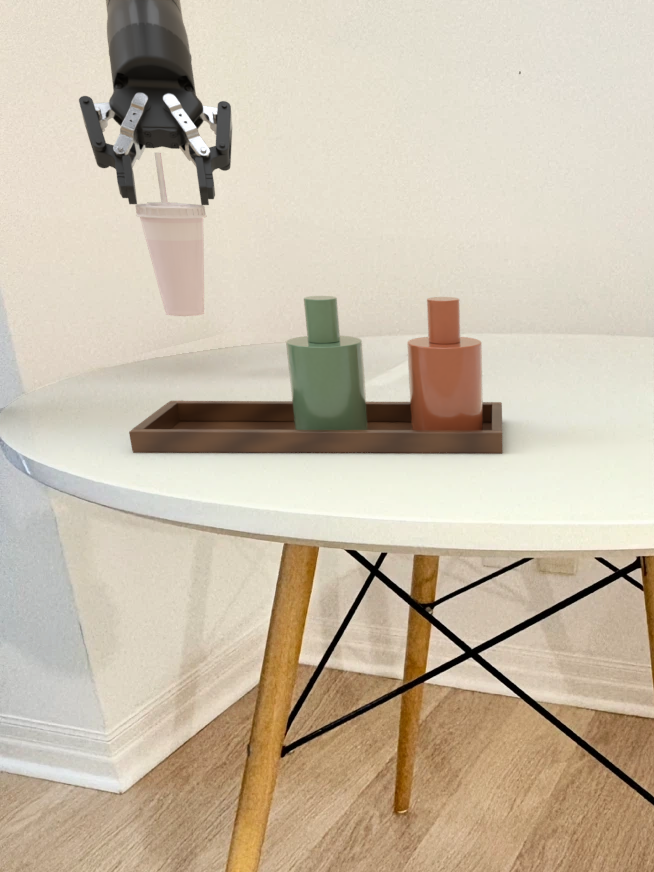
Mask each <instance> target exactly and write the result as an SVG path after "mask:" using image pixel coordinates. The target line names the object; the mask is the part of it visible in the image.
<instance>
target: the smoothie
mask: <svg viewBox="0 0 654 872" xmlns="http://www.w3.org/2000/svg"><path fill="white" fill-rule="evenodd" d="M154 159H155V166H156V167H155V168H156V175H157V180H158V187H159V188H158V189H159V194H160V201H159V202H158V201H157V202H156V201H155V202H154V201H148V202H146V203H137V204H135V211H136V214H135V216H136V217H137V218H139V219H140V222H141V225H142V230H143V235H144V238H145V241H146V245H147V247H148V248H147V249H148V253H149V256H150V261H151V265H152V268H153V271H154V275H155V280H156V282H157V287H158V290H159V294H160V298H161V301H162V302H161V303H162V305H163V310H164V313H165V315H167V316H171V317H196V316H197V317H198V316H202V315H204V314H205V255H204V254H205V252H204V251H205V249H204V236H205V235H204V234H205V233H204V218H207V214H206V207H205V205H201V204H196V203H180V202H170V201H169V202H168V195H167V188H166V181H165V174H164V173H165V172H164V166H163V160H162V153H161V152H154Z"/></svg>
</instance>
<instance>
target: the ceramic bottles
mask: <svg viewBox="0 0 654 872" xmlns="http://www.w3.org/2000/svg"><path fill="white" fill-rule="evenodd" d="M460 303H461V302H460V298H458V297H452V296H433V297H427V298H426V311H427V312H426V313H427V334H428V335H427V336H421V337H416V338H412V339H409V340H408V341H407V342H406V348H407V349H406V350H407V368H408V369H407V370H408V387H409V388H408V389H409V402H410V410H411V430H483V402H484V400H483V399H484V397H483V395H484V393H483V392H484V391H483V389H484V388H483V343H482V342H483V341H481V340H480V339H478V338H474V337H469V336H468V337H467V336H461V310H460V306H461V305H460ZM303 306H304V316H305V326H306V335H305V336H297V337H293V338H289V339H287V340H286V341H285V346H286V356H287V367H288V375H289V385H290V394H291V401H292V404H293V414H294V423H295V430H368V419H367V405H366V402H367V393H366V377H365V366H364V365H365V364H364V349H363V341H362V339H361V338H358V337H356V336H349V335H341V332H340V320H339V319H340V318H339V307H338V306H339V305H338V298H337V297H336V296H333V295H309V296H305V297H303Z"/></svg>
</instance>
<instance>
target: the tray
mask: <svg viewBox="0 0 654 872" xmlns="http://www.w3.org/2000/svg"><path fill="white" fill-rule="evenodd" d="M366 405H367V419H368V430H295V423H294V414H293V404H292V400H290V401H289V400H169V401H168V402H167V403H165V404H164V405H163V406H161V407H160V408H159V409H157V410H156V411H155V412H153V413H152V414H151V415H149V416H148V417H147V418H145V419H143V420H142V421H141V422H139V423H138V424H137V425H135V426H134V427H133V428H131V429H130V430H129V432H128V434H129V439H130V445H131V450H132V454H363V455H364V454H366V455H367V454H369V455H371V454H373V455H375V454H379V455H380V454H386V455H387V454H389V455H390V454H398V455H399V454H400V455H401V454H402V455H403V454H404V455H405V454H406V455H407V454H408V455H409V454H410V455H411V454H412V455H413V454H414V455H415V454H418V455H419V454H420V455H422V454H424V455H428V454H429V455H431V454H432V455H434V454H435V455H436V454H437V455H447V454H448V455H503V403H502V401H483V430H411V410H410V401H366Z"/></svg>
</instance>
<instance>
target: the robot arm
mask: <svg viewBox="0 0 654 872" xmlns="http://www.w3.org/2000/svg"><path fill="white" fill-rule="evenodd" d="M105 4H106V6H105V7H106V14H107V19H106V38H107V46H108V47H107V48H108V56H109V65H110V73H111V81H112V89H113V93H112V94H111V96H110V98H109V101H107V102H95V103H94V100H93V98H91V97H90V96H88V95H82V96H80V97H79V98H78V103H79V107H80V113H81V115H82V119H83V124H84V127H85V130H86V133H87V137H88V140H89V143H90V147H91V149H92V153H93V156H94V159H95V162H96V165H97V167H99V168H101V169H108V168H109V167H111V168H112V169H115V172H116V182H117V187H118V191H119V194H120V196H121V197H122V199H127V200H128V204H129V205H137V204H138V198H137V191H136V182H135V175H134V169H133V168H134V166H135V163H136V162H137V160H138V161H140V160H141V157H142V155H143V153H144V151H145V150H146V149H157V148H165V149H166V148H167V149H172V150H173V149H177V150H179V149H180V151H181V152H182V154H183V155H184V156H185V157H186V159H187V160H188V161H189V162H192V164H193V165H194V166H195V168H196V176H197V182H198V190H199V197H200V205H203V206H209V205H210V202H209V200H214V199H215V197H216V188H215V180H214V174H213V173H214V171H216V170H218V169H219V170H221V171H224V172H226V171H229V170H230V169H231V163H232V145H233V144H232V143H233V121H232V120H233V119H232V117H233V116H232V106H231V104H230V103H229V102H228V101H227V100H221V101H219V102H218V103H217V107H216V106H209V105H203V103H202V101H201V100H200V98H198V96H197V93H196V92H197V91H196V85H195V79H194V78H195V77H194V72H193V64H192V60H193V59H192V54H191V50H190V44H189V43H190V42H189V37H188V33H187V29H186V26H185V23H184V20H183V12H182V5H181V0H105ZM111 119H113V120H114V122H116V123H117V124H118V125H119V127H120V129H119V134H118V136H117V138H116V140H115V142H114V144H110V143H108V142H106V139H105V135H104V133H105V131H106V128H107V127H108V122H109V120H111ZM204 122H206V123H208V125H209V128H210V131H213V132H214V135H215V145H213V146H208V145H207V143H206V142H205V140H204V139H203V138H202V136H201V135H200V132H199V128H200V127H201V126H202V125H203V123H204Z"/></svg>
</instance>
